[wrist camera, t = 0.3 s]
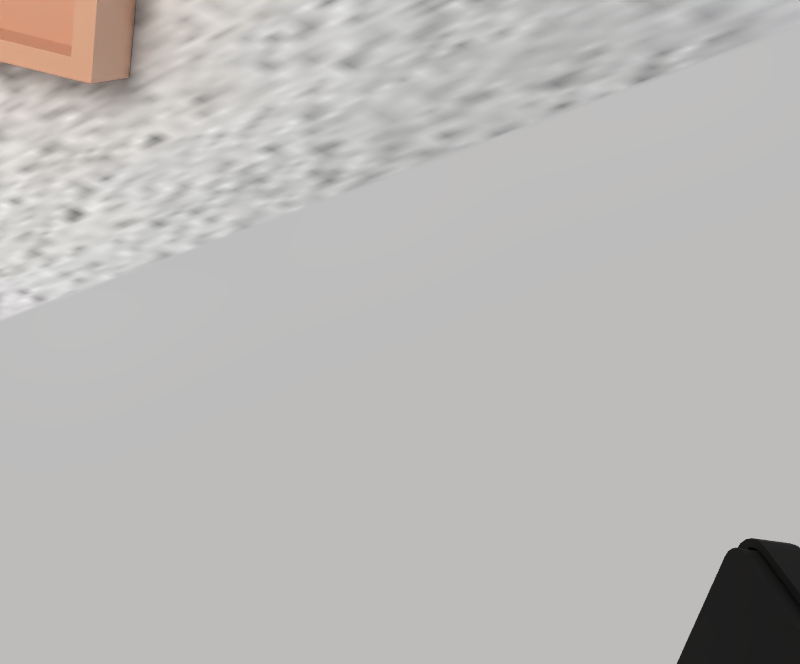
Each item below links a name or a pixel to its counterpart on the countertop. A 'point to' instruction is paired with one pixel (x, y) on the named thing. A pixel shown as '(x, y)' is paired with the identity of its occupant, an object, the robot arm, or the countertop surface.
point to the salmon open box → (69, 37)
